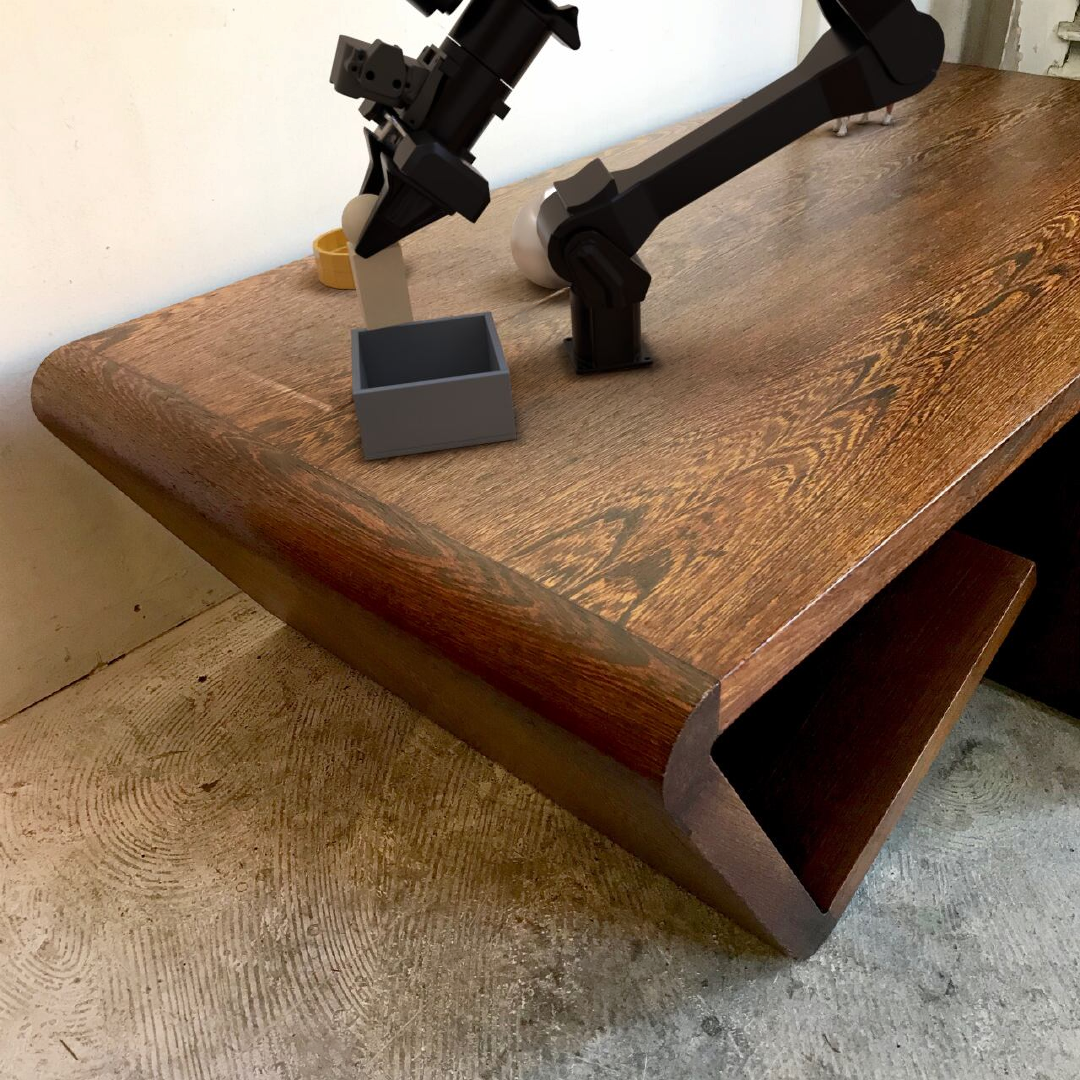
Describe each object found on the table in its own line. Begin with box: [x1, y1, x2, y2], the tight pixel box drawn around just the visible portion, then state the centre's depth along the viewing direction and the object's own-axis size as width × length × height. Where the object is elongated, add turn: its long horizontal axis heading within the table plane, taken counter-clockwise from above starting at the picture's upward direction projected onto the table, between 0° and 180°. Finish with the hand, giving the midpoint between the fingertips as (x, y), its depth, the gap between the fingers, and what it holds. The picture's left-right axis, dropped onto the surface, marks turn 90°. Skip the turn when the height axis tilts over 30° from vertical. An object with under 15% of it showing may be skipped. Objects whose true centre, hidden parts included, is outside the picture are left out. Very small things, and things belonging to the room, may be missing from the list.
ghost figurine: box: [509, 184, 571, 290], centre depth 98 cm, size 9×10×10 cm
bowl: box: [312, 226, 405, 290], centre depth 106 cm, size 9×9×4 cm
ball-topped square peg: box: [341, 194, 415, 331], centre depth 79 cm, size 4×4×10 cm
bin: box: [350, 311, 517, 461], centre depth 81 cm, size 11×11×6 cm
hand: (355, 246), depth 78 cm, fingers closed on ball-topped square peg, 4 cm apart
